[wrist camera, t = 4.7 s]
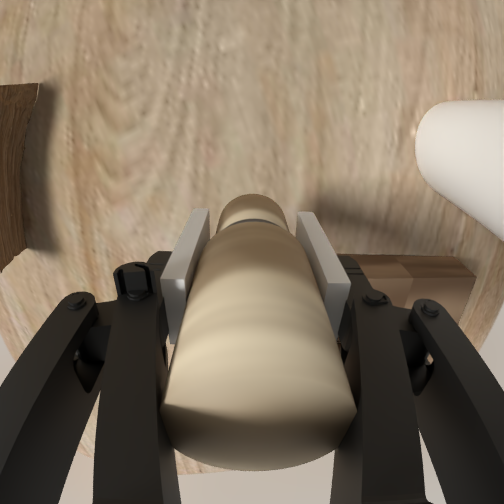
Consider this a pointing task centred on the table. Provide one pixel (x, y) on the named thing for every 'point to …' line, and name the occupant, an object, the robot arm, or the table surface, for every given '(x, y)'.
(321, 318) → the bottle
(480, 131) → the candle holder
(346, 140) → the table surface
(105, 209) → the table surface
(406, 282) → the wooden block with hole
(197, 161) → the table surface
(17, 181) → the wood plank
